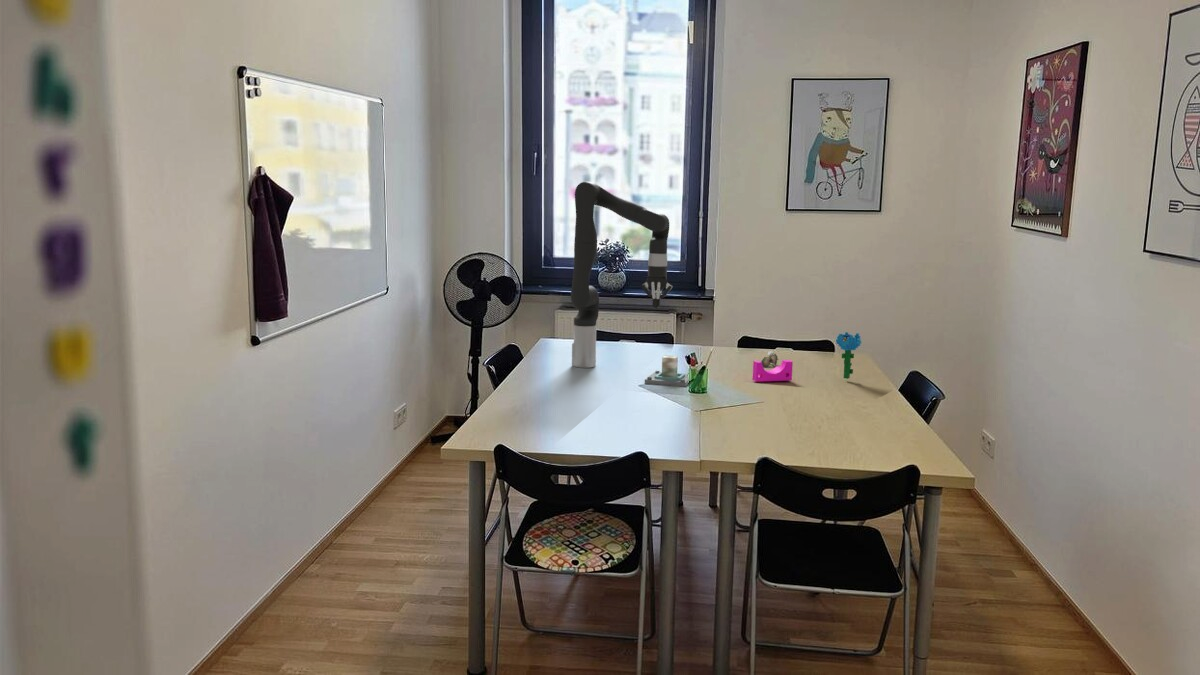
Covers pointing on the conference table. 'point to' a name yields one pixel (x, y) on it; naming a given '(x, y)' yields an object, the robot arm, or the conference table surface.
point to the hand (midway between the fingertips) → (656, 308)
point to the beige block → (669, 366)
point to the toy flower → (848, 350)
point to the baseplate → (667, 379)
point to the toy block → (773, 372)
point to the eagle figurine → (769, 359)
